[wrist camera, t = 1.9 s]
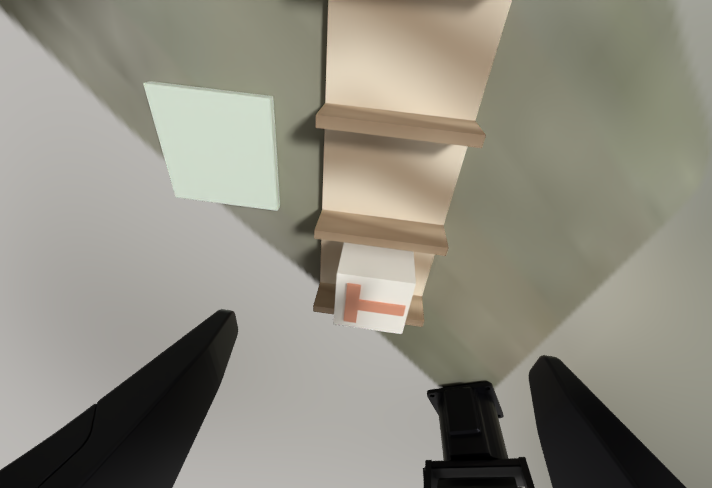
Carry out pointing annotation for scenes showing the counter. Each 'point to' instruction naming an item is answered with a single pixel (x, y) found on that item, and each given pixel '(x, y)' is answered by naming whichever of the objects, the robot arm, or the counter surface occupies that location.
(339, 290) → the letter cube
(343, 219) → the slot rack
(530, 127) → the counter surface
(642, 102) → the counter surface
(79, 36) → the counter surface
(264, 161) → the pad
